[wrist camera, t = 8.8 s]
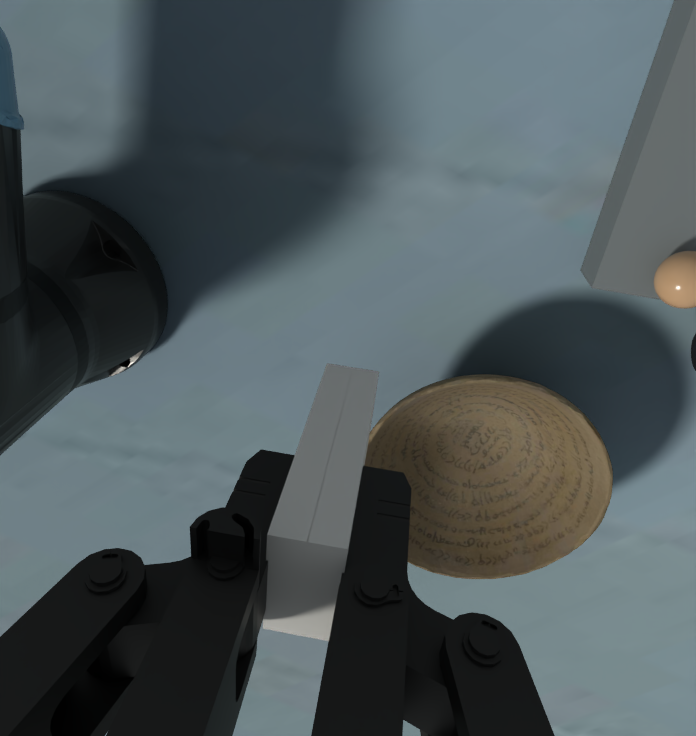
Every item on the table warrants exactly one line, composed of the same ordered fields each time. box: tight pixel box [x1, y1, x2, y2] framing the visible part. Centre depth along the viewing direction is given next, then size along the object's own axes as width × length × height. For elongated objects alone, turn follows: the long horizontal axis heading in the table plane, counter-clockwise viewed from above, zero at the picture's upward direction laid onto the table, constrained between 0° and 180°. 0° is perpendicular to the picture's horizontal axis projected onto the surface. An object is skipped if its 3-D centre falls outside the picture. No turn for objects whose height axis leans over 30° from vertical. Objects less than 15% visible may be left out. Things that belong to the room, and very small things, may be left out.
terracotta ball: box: [654, 251, 696, 308], centre depth 33 cm, size 3×3×3 cm
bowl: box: [364, 374, 613, 579], centre depth 43 cm, size 18×18×8 cm
